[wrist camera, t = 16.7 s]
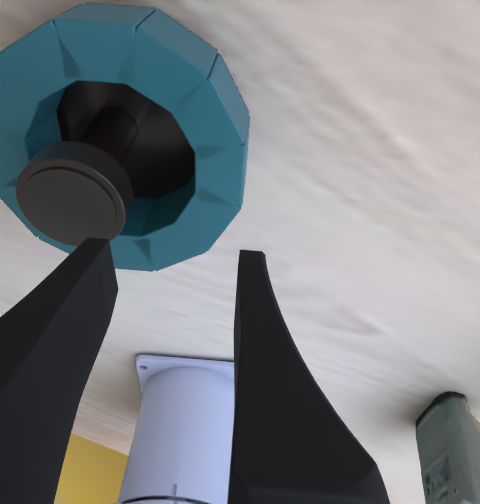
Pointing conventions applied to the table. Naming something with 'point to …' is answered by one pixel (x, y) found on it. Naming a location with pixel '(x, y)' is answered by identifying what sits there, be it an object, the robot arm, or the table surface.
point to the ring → (151, 86)
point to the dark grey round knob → (102, 163)
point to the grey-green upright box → (449, 451)
